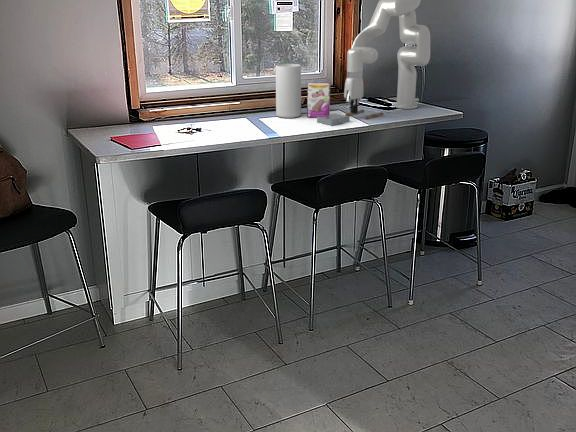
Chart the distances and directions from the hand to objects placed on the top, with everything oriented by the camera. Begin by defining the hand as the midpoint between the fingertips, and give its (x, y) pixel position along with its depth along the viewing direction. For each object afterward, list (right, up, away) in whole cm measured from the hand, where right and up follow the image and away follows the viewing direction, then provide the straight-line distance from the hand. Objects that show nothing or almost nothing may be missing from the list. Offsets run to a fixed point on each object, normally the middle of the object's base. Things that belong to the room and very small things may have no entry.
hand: (354, 112), depth 312 cm
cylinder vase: (-32, 0, +7) cm, 33 cm away
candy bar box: (-17, -2, +4) cm, 18 cm away
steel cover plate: (-11, -6, -7) cm, 14 cm away
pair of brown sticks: (+6, 0, +7) cm, 9 cm away
